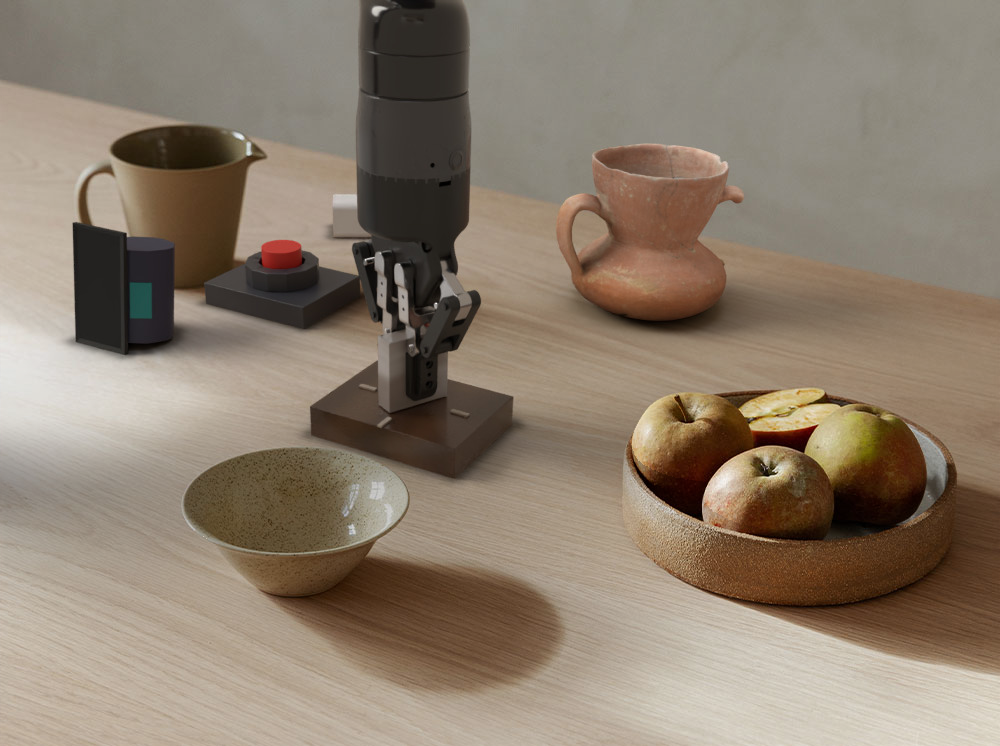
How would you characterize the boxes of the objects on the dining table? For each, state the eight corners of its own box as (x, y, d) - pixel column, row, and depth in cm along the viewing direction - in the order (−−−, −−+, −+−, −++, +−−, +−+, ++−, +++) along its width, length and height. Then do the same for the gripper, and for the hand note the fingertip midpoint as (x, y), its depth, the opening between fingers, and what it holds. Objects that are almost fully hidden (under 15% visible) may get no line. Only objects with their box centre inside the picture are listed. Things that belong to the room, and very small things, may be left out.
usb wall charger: (334, 227, 122) (333, 192, 120) (397, 227, 123) (397, 192, 121) (333, 239, 119) (332, 203, 117) (398, 239, 119) (398, 204, 118)
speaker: (107, 362, 90) (100, 237, 86) (74, 343, 93) (66, 222, 90) (190, 345, 95) (187, 227, 91) (156, 327, 98) (152, 213, 95)
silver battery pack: (389, 413, 79) (388, 340, 76) (378, 404, 80) (377, 332, 77) (447, 396, 82) (448, 325, 79) (435, 387, 83) (436, 317, 80)
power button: (254, 266, 101) (252, 248, 100) (278, 254, 104) (277, 237, 103) (286, 274, 99) (285, 255, 98) (309, 262, 102) (309, 244, 101)
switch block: (205, 304, 102) (202, 264, 100) (266, 274, 109) (264, 236, 107) (303, 330, 97) (302, 288, 95) (360, 297, 104) (359, 257, 103)
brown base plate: (310, 436, 81) (308, 404, 79) (378, 387, 88) (377, 357, 87) (453, 481, 76) (454, 447, 75) (512, 424, 83) (514, 393, 82)
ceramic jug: (697, 272, 114) (714, 135, 107) (760, 328, 101) (783, 177, 95) (529, 282, 110) (536, 140, 103) (572, 342, 97) (583, 185, 91)
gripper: (313, 140, 75) (321, 367, 83) (422, 194, 66) (420, 445, 73) (406, 127, 79) (406, 344, 87) (522, 176, 70) (510, 416, 78)
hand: (412, 389), depth 80 cm, fingers closed, pressing on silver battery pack
